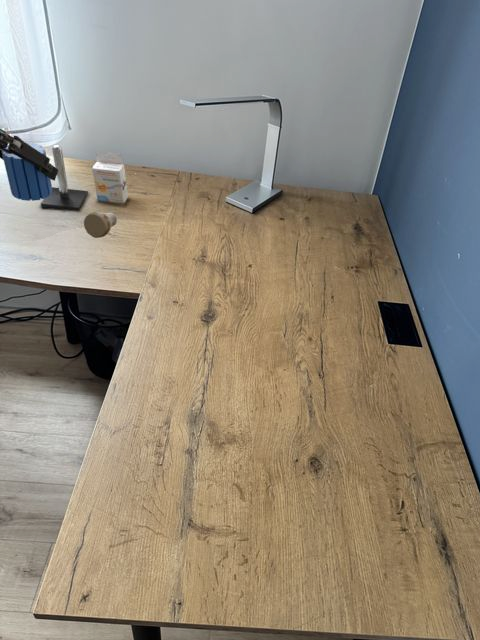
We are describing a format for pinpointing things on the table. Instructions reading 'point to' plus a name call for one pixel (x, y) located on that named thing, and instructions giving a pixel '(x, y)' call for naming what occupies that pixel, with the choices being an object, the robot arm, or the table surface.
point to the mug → (99, 223)
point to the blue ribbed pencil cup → (26, 177)
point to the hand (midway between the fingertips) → (37, 169)
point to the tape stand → (63, 188)
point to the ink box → (110, 178)
